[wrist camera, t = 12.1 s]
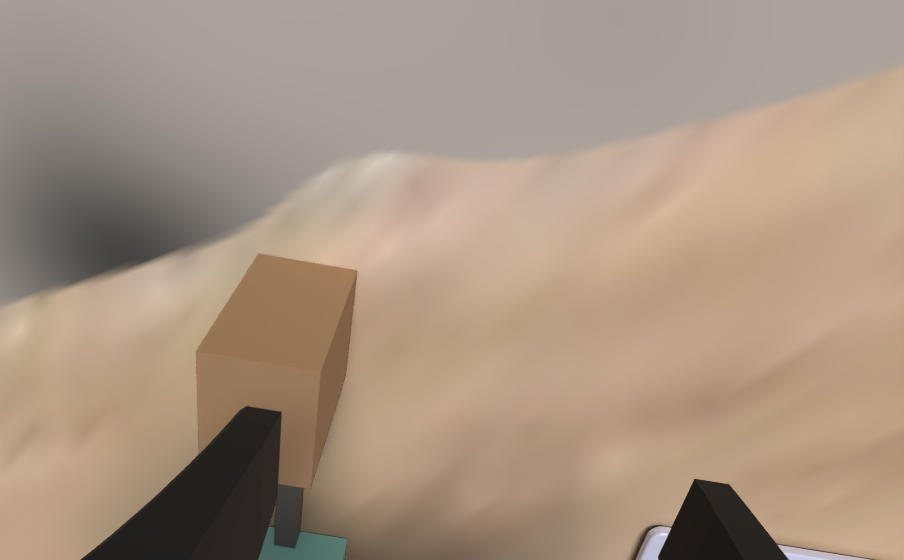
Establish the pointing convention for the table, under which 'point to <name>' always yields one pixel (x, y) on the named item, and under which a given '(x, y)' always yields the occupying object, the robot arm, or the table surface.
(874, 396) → the table surface
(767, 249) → the table surface
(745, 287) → the table surface
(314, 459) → the brown tall block
